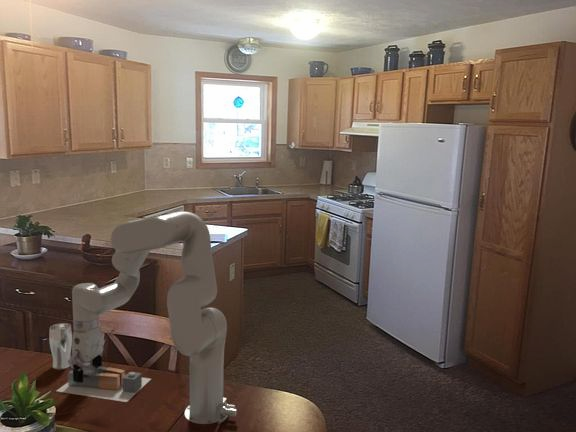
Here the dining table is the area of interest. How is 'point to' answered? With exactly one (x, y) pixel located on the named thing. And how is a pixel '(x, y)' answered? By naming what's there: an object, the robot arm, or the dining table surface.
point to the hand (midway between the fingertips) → (88, 374)
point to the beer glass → (60, 344)
